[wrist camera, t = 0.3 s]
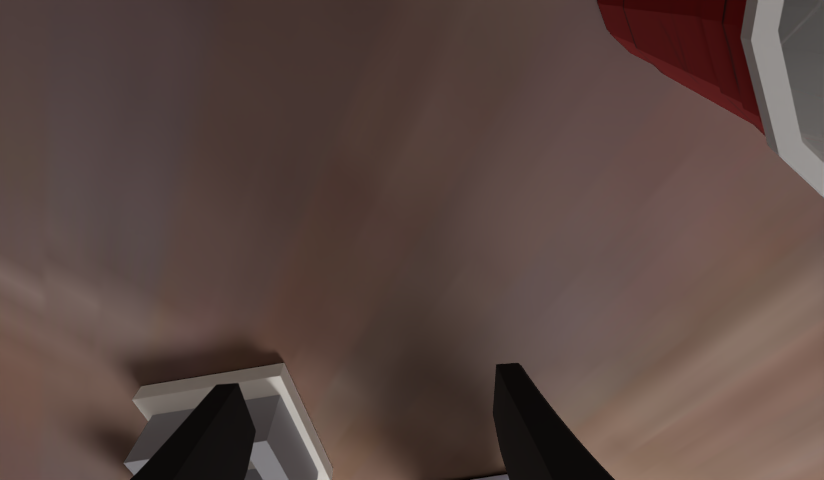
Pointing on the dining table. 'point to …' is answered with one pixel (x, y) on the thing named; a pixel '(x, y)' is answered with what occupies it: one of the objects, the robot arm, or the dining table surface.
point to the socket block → (270, 412)
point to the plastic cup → (740, 63)
